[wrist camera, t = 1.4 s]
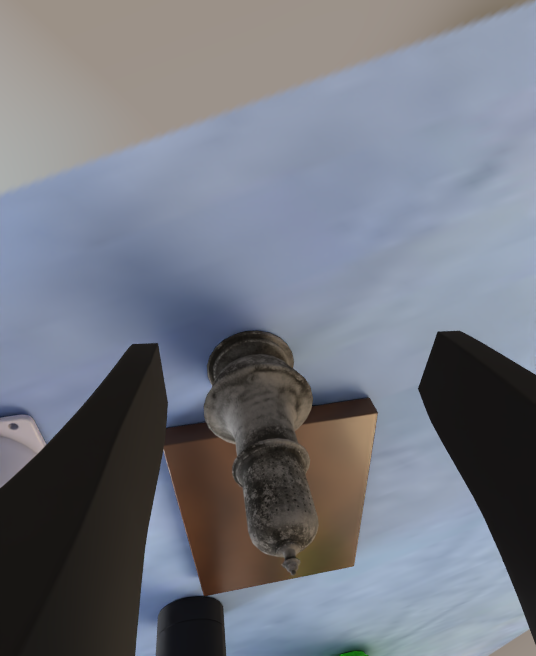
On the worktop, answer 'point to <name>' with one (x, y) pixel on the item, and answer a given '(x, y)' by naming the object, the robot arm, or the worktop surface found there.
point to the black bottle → (191, 628)
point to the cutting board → (229, 507)
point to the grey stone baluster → (265, 438)
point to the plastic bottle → (354, 653)
